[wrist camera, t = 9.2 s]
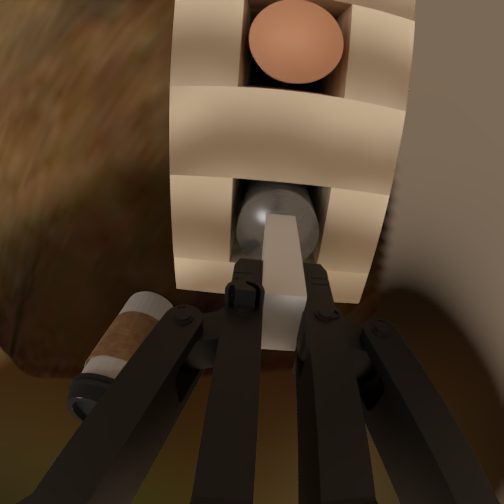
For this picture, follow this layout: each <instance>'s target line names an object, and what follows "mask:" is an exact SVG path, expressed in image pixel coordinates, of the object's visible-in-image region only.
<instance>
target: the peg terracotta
mask: <svg viewBox="0 0 504 504" xmlns="http://www.w3.org/2000/svg"><path fill="white" fill-rule="evenodd" d="M249 46H250V50H251V53H252V55H253V57H254V59H255V61H256V62H257V64H258V65H259V67H260V68H261V69H262V71H263V72H264V73H265V74H266V75H267V76H268V77H270V78H271V79H273V80H275V81H278V82H282V83H298V84H300V83H309V82H313V81H317V80H319V79H321V78H323V77H325V76H326V75H328V74H329V73H330V72H331V71H332V70H333V69H334V68H335V67H336V66H337V64H338V63H339V61H340V59H341V56H342V53H343V47H344V41H343V35H342V31H341V29H340V27H339V25H338V23H337V21H336V20H335V19H334V17H333V16H332V15H331V14H330V13H329V12H328V11H326V10H325V9H324V8H322V7H320V6H319V5H317V4H314V3H312V2H309V1H305V0H282V1H279V2H275V3H273V4H271V5H269V6H268V7H266V8H265V9H263V10H262V11H261V12H260V13H259V14H258V15H257V16H256V18H255V19H254V21H253V23H252V25H251V28H250V32H249Z"/></svg>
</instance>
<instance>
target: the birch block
mask: <svg viewBox="0 0 504 504" xmlns="http://www.w3.org/2000/svg"><path fill="white" fill-rule="evenodd" d="M279 1H282V0H175V9H174V21H173V35H172V51H171V72H170V108H169V157H170V195H171V218H172V235H173V251H174V264H175V277H176V288H177V289H185V290H195V291H204V292H214V293H224V294H225V287H226V286H227V284H228V283H230V282H231V281H232V276H233V270H234V265H235V263H236V262H237V261H238V260H239V259H240V258H245V259H249V258H248V257H247V256H246V255H245V254H244V253H243V251H242V250H241V248H240V246H239V244H238V240H237V235H236V229H237V223H238V219H239V214H240V210H241V205H242V195H243V179H252V180H264V181H275V182H286V183H296V184H305V185H307V188H308V192H309V195H310V198H311V201H312V204H313V208H314V211H315V214H316V218H317V221H318V225H319V238H318V242H317V245H316V247H315V249H314V250H313V252H312V253H311V254H310V255H309V256H308V257H307V258H306V259H305V260H304V261H302V263H313V264H321V265H322V267H323V268H324V269H325V270H326V271H327V275H328V280H329V283H330V287H331V292H332V296H333V300H334V302H342V303H359V301H360V298H361V295H362V292H363V289H364V286H365V283H366V280H367V277H368V273H369V270H370V267H371V263H372V260H373V257H374V253H375V250H376V246H377V243H378V239H379V235H380V232H381V228H382V224H383V220H384V216H385V212H386V208H387V204H388V200H389V196H390V192H391V187H392V183H393V178H394V174H395V169H396V164H397V159H398V154H399V149H400V143H401V137H402V132H403V126H404V119H405V113H406V107H407V99H408V92H409V84H410V76H411V66H412V56H413V44H414V29H415V4H416V3H415V2H416V0H305V1H309V2H312V3H314V4H317V5H319V6H320V7H322V8H324V9H325V10H326V11H328V12H329V13H330V14H331V15H332V16H333V17H334V19H335V20H336V21H337V23H338V25H339V27H340V29H341V31H342V35H343V41H344V47H343V53H342V56H341V59H340V61H339V63H338V64H337V66H336V67H335V68H334V69H333V70H332V71H331V72H330V73H329V74H328V75H326V76H325V77H323V78H321V79H319V88H318V92H314V91H307V90H299V89H290V88H280V87H269V86H255V85H250V72H251V59H252V53H251V50H250V46H249V32H250V28H251V25H252V23H253V21H254V19H255V18H256V16H257V15H258V14H259V13H260V12H261V11H262V10H263V9H265V8H266V7H268V6H269V5H271V4H273V3H275V2H279Z"/></svg>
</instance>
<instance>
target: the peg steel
mask: <svg viewBox="0 0 504 504" xmlns="http://www.w3.org/2000/svg"><path fill="white" fill-rule="evenodd" d="M266 213H269V214H280V215H291V216H295V217H296V223H297V230H298V236H299V243H300V249H301V256H302V261H304V260H305V259H306V258H307V257H308V256H309V255H310V254H311V253H312V252H313V250H314V249H315V247H316V245H317V242H318V238H319V225H318V221H317V218H316V214H315V211H314V208H313V204H312V201H311V198H310V195H309V192H308V188H307V185H305V184H296V183H286V182H275V181H264V180H252V179H247V183H246V188H245V192H244V197H243V201H242V205H241V210H240V214H239V219H238V223H237V229H236V235H237V240H238V244H239V246H240V248H241V250H242V251H243V253H244V254H245V255H246V256H247V257H248V258H249V259H256V260H262V251H263V241H264V230H265V220H266Z"/></svg>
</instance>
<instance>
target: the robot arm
mask: <svg viewBox="0 0 504 504" xmlns="http://www.w3.org/2000/svg"><path fill="white" fill-rule="evenodd" d="M296 344H297V355H296V359H295V363H294V367H293V371H292V374H295V373H296V399H297V430H298V431H297V432H298V504H378V503H377V501H376V497H375V490H374V481H373V474H372V466H371V459H370V452H369V446H368V439H367V433H366V427H365V424H366V426H367V428H368V430H369V432H370V435H371V437H372V439H373V441H374V444H375V446H376V448H377V450H378V452H379V455H380V457H381V460H382V462H383V464H384V466H385V469H386V471H387V473H388V476H389V478H390V480H391V483H392V485H393V487H394V490H395V492H396V494H397V497H398V499H399V501H400V504H500V503H499V501H498V499H497V497H496V495H495V493H494V491H493V489H492V487H491V485H490V483H489V481H488V479H487V477H486V475H485V473H484V471H483V469H482V467H481V466H480V464H479V462H478V460H477V458H476V456H475V454H474V453H473V451H472V449H471V447H470V445H469V443H468V442H467V440H466V439H465V436H464V435H463V433H462V431H461V429H460V428H459V426H458V424H457V423H456V421H455V419H454V417H453V416H452V414H451V412H450V411H449V409H448V407H447V406H446V404H445V403H444V401H443V399H442V398H441V396H440V394H439V393H438V391H437V389H436V388H435V386H434V385H433V384H432V382H431V380H430V378H429V377H428V375H427V374H426V372H425V371H424V369H423V367H422V366H421V365H420V363H419V362H418V360H417V358H416V357H415V355H414V354H413V353H412V351H411V349H410V348H409V346H408V345H407V343H406V342H405V340H404V339H403V338H402V336H401V335H400V333H399V332H398V330H397V329H396V327H395V326H394V325H393V324H392V323H390V322H389V321H387V320H385V319H381V318H371V319H368V320H367V321H366V322H365V323H364V325H360V324H357V323H353V322H351V321H348V320H346V319H344V318H343V315H342V313H341V311H340V310H339V309H338V308H336V307H335V305H334V300H333V296H332V292H331V287H330V283H329V280H328V275H327V271H326V270H325V269H324V268H323V267H322V265H321V264H313V263H302V256H301V249H300V243H299V236H298V230H297V223H296V217H295V216H291V215H280V214H269V213H266V220H265V230H264V241H263V251H262V260H256V259H245V258H240V259H239V260H238V261H237V262H236V263H235V265H234V270H233V276H232V281H231V282H230V283H228V284H227V286H226V287H225V306H224V307H223V308H222V309H220V310H218V311H215V312H211V313H204V314H202V312H201V311H200V310H199V309H198V308H196V307H194V306H192V305H185V304H184V305H177V306H174V307H172V308H170V309H169V310H168V311H167V312H166V313H165V314H164V315H163V316H162V318H161V319H160V320H159V322H158V323H157V324H156V325H155V327H154V328H153V329H152V331H151V332H150V333H149V334H148V336H147V337H146V338H145V340H144V341H143V342H142V344H141V345H140V346H139V347H138V349H137V350H136V351H135V353H134V354H133V355H132V357H131V358H130V359H129V361H128V362H127V363H126V365H125V366H124V367H123V368H122V370H121V371H120V372H119V374H118V375H117V376H116V378H115V379H114V380H113V382H112V383H111V384H110V386H109V387H108V388H107V390H106V391H105V393H104V394H103V395H102V397H101V398H100V399H99V401H98V402H97V403H96V405H95V406H94V407H93V409H92V410H91V411H90V413H89V414H88V416H87V417H86V418H85V420H84V421H83V422H82V424H81V426H80V427H79V428H78V429H77V431H76V432H75V434H74V435H73V436H72V438H71V439H70V441H69V442H68V443H67V445H66V446H65V447H64V449H63V450H62V452H61V453H60V455H59V456H58V457H57V459H56V460H55V462H54V463H53V465H52V466H51V467H50V469H49V470H48V472H47V473H46V475H45V476H44V478H43V479H42V481H41V482H40V483H39V485H38V486H37V488H36V489H35V491H34V492H33V493H32V494H31V495H29V496H28V497H26V498H24V499H23V500H21V501H20V502H18V503H16V504H131V502H132V501H133V499H134V497H135V495H136V494H137V492H138V490H139V488H140V486H141V485H142V483H143V481H144V479H145V478H146V476H147V474H148V472H149V470H150V469H151V467H152V465H153V463H154V461H155V460H156V458H157V456H158V454H159V452H160V451H161V449H162V447H163V445H164V443H165V442H166V440H167V438H168V436H169V434H170V433H171V431H172V429H173V427H174V425H175V424H176V421H177V420H178V418H179V416H180V414H181V413H182V411H183V409H184V407H185V405H186V404H187V402H188V400H189V398H190V396H191V394H192V392H193V391H194V389H195V387H196V385H197V383H198V382H199V380H200V378H201V376H202V374H203V372H204V370H205V368H211V367H214V368H213V374H212V380H211V385H210V391H209V396H208V402H207V408H206V414H205V419H204V425H203V431H202V437H201V443H200V449H199V456H198V461H197V467H196V473H195V480H194V486H193V492H192V498H191V502H190V504H253V492H254V476H255V459H256V441H257V422H258V403H259V384H260V363H261V349H271V350H286V351H295V348H296Z"/></svg>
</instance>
